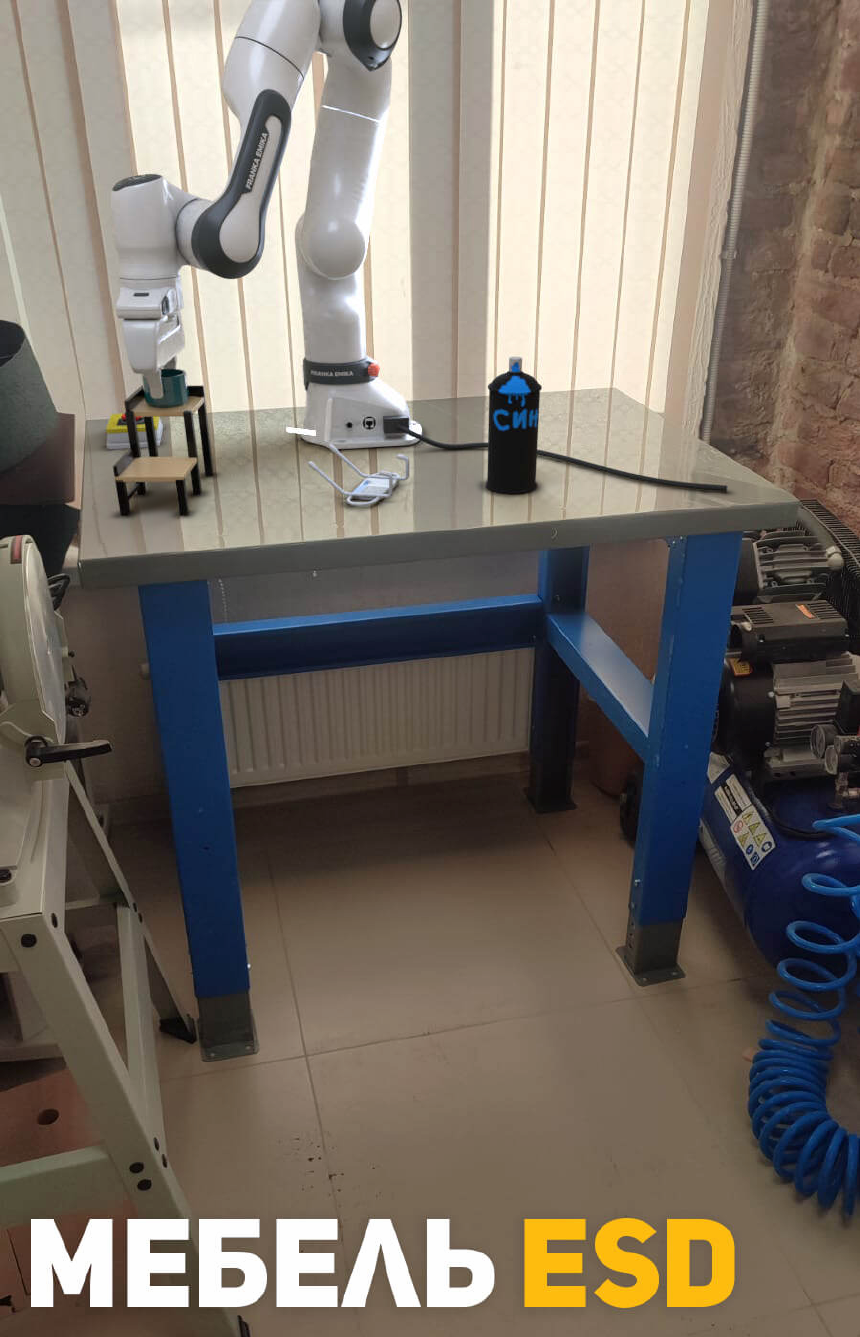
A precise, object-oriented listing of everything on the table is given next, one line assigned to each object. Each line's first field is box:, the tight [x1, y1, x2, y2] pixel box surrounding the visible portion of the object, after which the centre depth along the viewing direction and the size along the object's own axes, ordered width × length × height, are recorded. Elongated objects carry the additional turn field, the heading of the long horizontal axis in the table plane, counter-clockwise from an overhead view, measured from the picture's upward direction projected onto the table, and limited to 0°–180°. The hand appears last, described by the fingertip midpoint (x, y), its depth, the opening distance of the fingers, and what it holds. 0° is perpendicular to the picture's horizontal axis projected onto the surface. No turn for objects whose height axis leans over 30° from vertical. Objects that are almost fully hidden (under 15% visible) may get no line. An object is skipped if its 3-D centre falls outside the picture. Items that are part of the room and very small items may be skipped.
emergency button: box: [105, 413, 164, 450], centre depth 186 cm, size 9×4×15 cm
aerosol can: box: [485, 356, 543, 495], centre depth 155 cm, size 8×8×20 cm
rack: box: [112, 385, 215, 517], centre depth 154 cm, size 10×20×15 cm, turn 0°
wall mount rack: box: [307, 444, 410, 507], centre depth 157 cm, size 16×14×6 cm
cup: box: [140, 368, 189, 408], centre depth 155 cm, size 7×7×5 cm
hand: (164, 391), depth 155 cm, fingers closed on cup, 6 cm apart
